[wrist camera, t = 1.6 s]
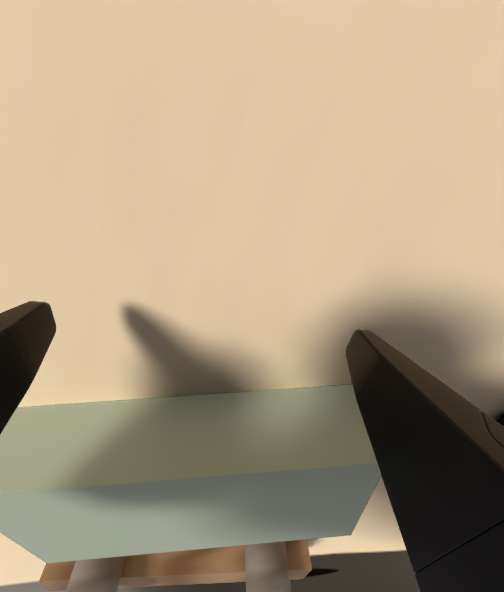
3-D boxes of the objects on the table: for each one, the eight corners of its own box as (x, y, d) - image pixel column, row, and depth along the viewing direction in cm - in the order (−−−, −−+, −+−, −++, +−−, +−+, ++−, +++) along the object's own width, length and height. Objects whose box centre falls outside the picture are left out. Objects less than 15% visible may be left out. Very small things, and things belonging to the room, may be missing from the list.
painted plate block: (350, 377, 14) (388, 462, 11) (328, 458, 18) (350, 535, 15) (19, 400, 13) (-51, 497, 10) (81, 478, 18) (46, 563, 14)
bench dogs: (314, 516, 23) (338, 630, 18) (297, 541, 26) (312, 643, 21) (48, 520, 20) (-12, 657, 15) (64, 547, 23) (19, 668, 18)
